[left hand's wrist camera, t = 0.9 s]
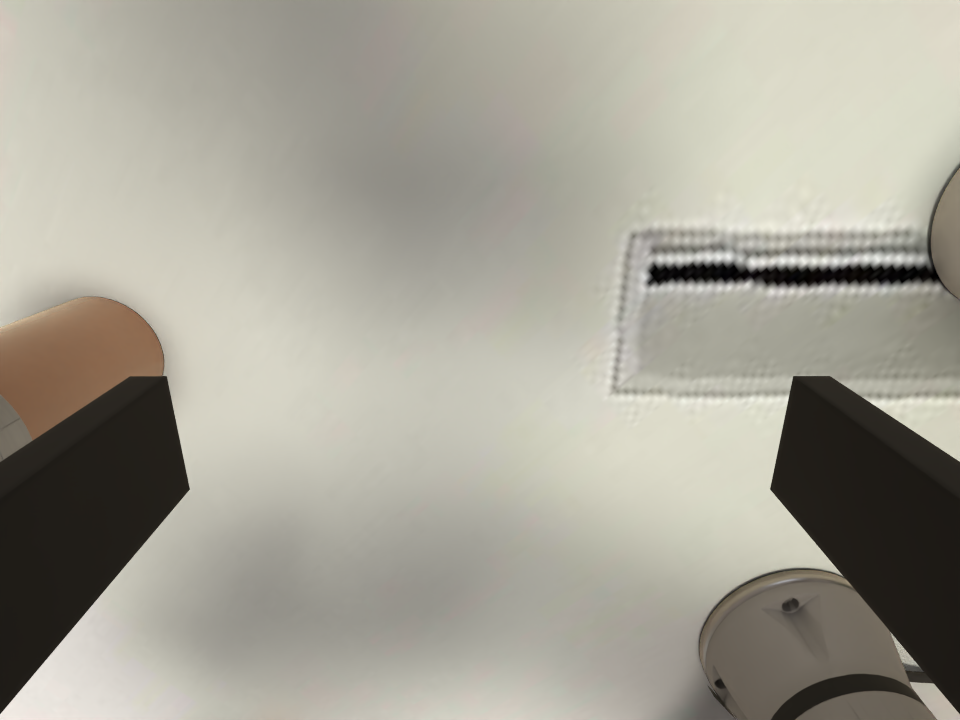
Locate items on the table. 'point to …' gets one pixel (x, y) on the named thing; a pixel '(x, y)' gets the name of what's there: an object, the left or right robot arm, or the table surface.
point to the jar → (72, 358)
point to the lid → (11, 430)
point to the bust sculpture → (948, 236)
